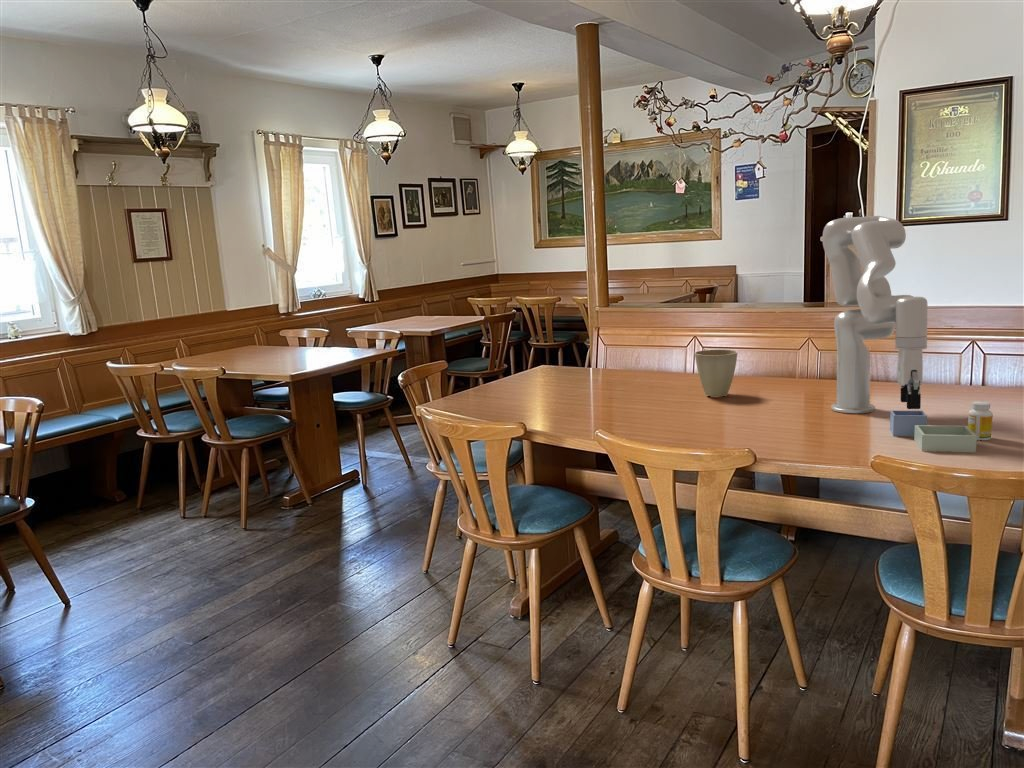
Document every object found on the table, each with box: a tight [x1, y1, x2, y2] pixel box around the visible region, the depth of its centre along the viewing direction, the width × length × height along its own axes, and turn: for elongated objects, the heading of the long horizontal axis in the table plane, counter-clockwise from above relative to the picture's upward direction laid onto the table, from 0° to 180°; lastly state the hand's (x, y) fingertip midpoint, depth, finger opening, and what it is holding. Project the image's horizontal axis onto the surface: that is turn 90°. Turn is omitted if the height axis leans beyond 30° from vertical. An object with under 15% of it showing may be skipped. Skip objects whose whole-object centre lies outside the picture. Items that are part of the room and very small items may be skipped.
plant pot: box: [694, 349, 738, 397], centre depth 267 cm, size 15×15×16 cm
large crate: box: [913, 424, 978, 453], centre depth 190 cm, size 10×12×4 cm
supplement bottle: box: [967, 400, 994, 441], centre depth 194 cm, size 5×5×10 cm
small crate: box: [889, 409, 928, 437], centre depth 203 cm, size 6×8×6 cm
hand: (910, 405), depth 202 cm, fingers open, 9 cm apart
